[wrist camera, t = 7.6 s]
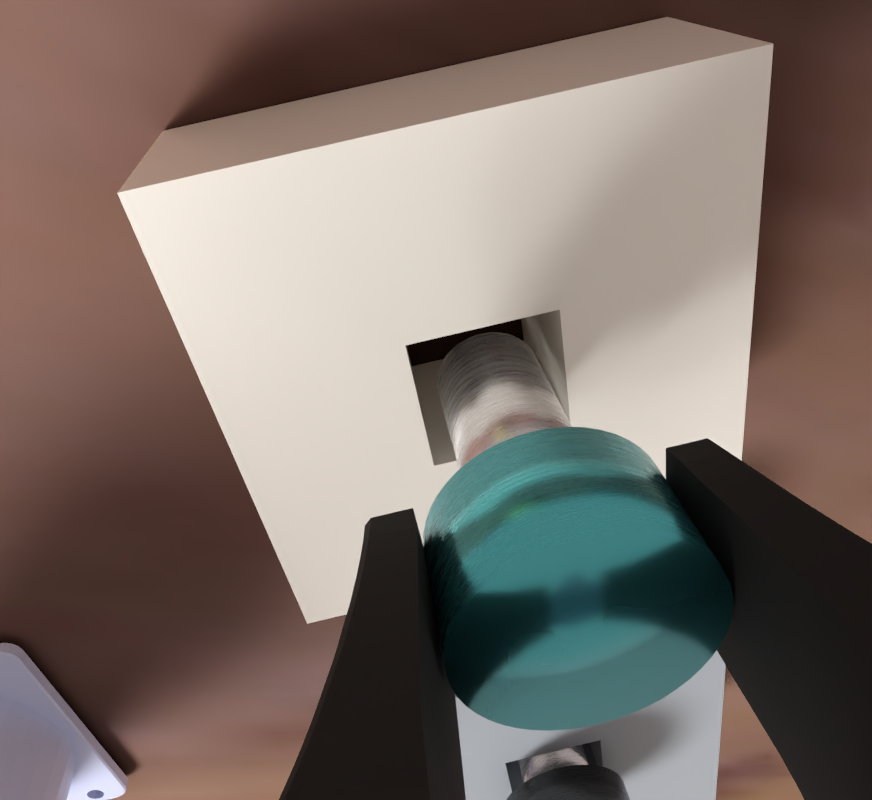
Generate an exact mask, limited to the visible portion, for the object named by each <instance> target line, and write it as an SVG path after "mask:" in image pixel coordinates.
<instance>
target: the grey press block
mask: <svg viewBox="0 0 872 800" xmlns="http://www.w3.org/2000/svg"><path fill="white" fill-rule="evenodd" d="M346 615H347V614H346ZM725 669H726V665H725V663H724V661H723V660H722V658H721V656H720V655H719V653H718V651H717V650H716V652H715V653H714V655H713V656H712V657H711V658H710V660H709V661H708V662H707V663H706V664H705V665H704V666H703V667H702V669H700V670H699V671H698V672H697V673H696V674H695V675H694V676H693V677H692V678H691V679H690V680H688V681H687V682H686V683H684V684H683V685H682V686H680V687H679V688H678V689H676V690H675V691H673V692H672V693H670V694H669V695H667V696H666V697H664V698H662V699H661V700H659V701H657V702H655V703H653V704H651V705H649V706H647V707H645V708H643V709H641V710H638V711H636V712H634V713H632V714H629V715H626V716H623V717H621V718H618V719H615V720H612V721H608V722H605V723H601V724H597V725H592V726H587V727H582V728H575V729H567V730H551V731H544V730H528V729H520V728H514V727H510V726H505V725H502V724H499V723H496V722H493V721H490V720H488V719H486V718H484V717H482V716H480V715H478V714H476V713H475V712H474V711H472V710H471V709H469V708H468V707H467V706H466V705H465V704H464V703H463V702H462V701H461V700H460V699H459V698H458V697H457V696H456V694H455V699H456V708H457V718H458V728H459V737H460V747H461V757H462V767H463V777H464V787H465V796H466V800H507V798H508V797H509V795H510V794H511V793H512V792H513V791H514V790H515V789H516V788H517V787H519V786H520V785H521V784H523V783H524V782H523V778H522V774H521V769H520V765H519V761H518V760H521V759H525V758H529V757H533V756H537V755H541V754H545V753H549V752H553V751H558V750H562V749H566V748H570V747H574V746H578V745H582V746H583V749H584V752H585V755H586V758H587V761H588V764H589V765H596V766H602V767H606V768H609V769H611V770H613V771H615V772H616V773H618V774H619V775H620V776H621V778H622V779H623V781H624V784H625V787H626V790H627V792H628V795H629V798H630V800H715V799H716V786H717V773H718V760H719V747H720V734H721V721H722V708H723V695H724V682H725Z"/></svg>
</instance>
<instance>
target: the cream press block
mask: <svg viewBox="0 0 872 800" xmlns="http://www.w3.org/2000/svg"><path fill="white" fill-rule="evenodd" d="M772 57H773V43H769V42H765V41H761V40H757V39H753V38H749V37H746V36H742V35H738V34H734V33H730V32H726V31H722V30H718V29H714V28H710V27H706V26H702V25H698V24H694V23H690V22H686V21H682V20H678V19H674V18H670V17H664V18H660V19H655V20H651V21H646V22H642V23H637V24H633V25H629V26H624V27H620V28H615V29H611V30H607V31H602V32H598V33H593V34H589V35H584V36H580V37H576V38H571V39H567V40H562V41H558V42H553V43H549V44H545V45H540V46H536V47H531V48H527V49H523V50H518V51H514V52H509V53H505V54H500V55H496V56H492V57H487V58H483V59H478V60H474V61H469V62H465V63H461V64H456V65H452V66H447V67H443V68H439V69H434V70H430V71H425V72H421V73H416V74H412V75H408V76H403V77H399V78H394V79H390V80H385V81H381V82H377V83H372V84H368V85H363V86H359V87H355V88H350V89H346V90H341V91H337V92H332V93H328V94H324V95H319V96H315V97H310V98H306V99H301V100H297V101H293V102H288V103H284V104H279V105H275V106H271V107H266V108H262V109H257V110H253V111H248V112H244V113H240V114H235V115H231V116H226V117H222V118H217V119H213V120H209V121H204V122H200V123H195V124H191V125H187V126H182V127H178V128H173V129H169V130H164V131H162V133H161V134H160V135H159V137H158V138H157V140H156V141H155V142H154V144H153V145H152V146H151V148H150V149H149V150H148V152H147V153H146V154H145V156H144V157H143V159H142V160H141V161H140V163H139V164H138V165H137V167H136V168H135V169H134V171H133V172H132V173H131V175H130V176H129V178H128V179H127V180H126V182H125V183H124V184H123V186H122V187H121V188H120V190H119V191H118V192H117V194H118V196H119V198H120V200H121V203H122V205H123V207H124V209H125V212H126V214H127V216H128V218H129V221H130V223H131V225H132V228H133V230H134V232H135V234H136V237H137V239H138V241H139V243H140V246H141V248H142V250H143V252H144V255H145V257H146V259H147V262H148V264H149V266H150V268H151V271H152V273H153V275H154V277H155V280H156V282H157V284H158V286H159V289H160V291H161V293H162V296H163V298H164V300H165V302H166V305H167V307H168V309H169V311H170V314H171V316H172V318H173V320H174V323H175V325H176V327H177V330H178V332H179V334H180V336H181V339H182V341H183V343H184V345H185V348H186V350H187V352H188V354H189V357H190V359H191V361H192V363H193V366H194V368H195V370H196V373H197V375H198V377H199V379H200V382H201V384H202V386H203V388H204V391H205V393H206V395H207V397H208V400H209V402H210V404H211V407H212V409H213V411H214V413H215V416H216V418H217V420H218V422H219V425H220V427H221V429H222V431H223V434H224V436H225V438H226V441H227V443H228V445H229V447H230V450H231V452H232V454H233V456H234V459H235V461H236V463H237V465H238V468H239V470H240V472H241V475H242V477H243V479H244V481H245V484H246V486H247V488H248V490H249V493H250V495H251V497H252V499H253V502H254V504H255V506H256V509H257V511H258V513H259V515H260V518H261V520H262V522H263V524H264V527H265V529H266V531H267V533H268V536H269V538H270V540H271V542H272V545H273V547H274V549H275V552H276V554H277V556H278V558H279V561H280V563H281V565H282V567H283V570H284V572H285V574H286V576H287V579H288V581H289V583H290V586H291V588H292V590H293V592H294V595H295V597H296V599H297V601H298V604H299V606H300V608H301V610H302V613H303V615H304V617H305V620H306V622H307V624H308V623H312V622H317V621H321V620H325V619H329V618H333V617H337V616H342V615H346V614H347V612H348V608H349V605H350V601H351V597H352V593H353V589H354V584H355V580H356V576H357V571H358V567H359V562H360V556H361V551H362V545H363V538H364V528H365V525H366V523H367V522H368V521H369V520H370V518H372V517H377V516H381V515H385V514H389V513H394V512H398V511H402V510H406V509H411V508H413V510H414V514H415V517H416V521H417V525H418V528H419V532H420V536H421V539H422V543H423V533H424V527H425V522H426V519H427V516H428V513H429V510H430V508H431V506H432V504H433V502H434V500H435V498H436V496H437V495H438V494H439V492H440V491H441V489H442V488H443V487H444V485H445V484H446V483H447V482H448V481H449V479H450V478H451V477H452V476H453V475H454V474H455V473H456V472H457V471H458V470H459V468H458V464H457V460H456V457H455V453H454V449H453V445H452V442H451V438H450V434H449V431H448V427H447V423H446V419H445V416H444V412H443V408H442V405H441V401H440V397H439V393H438V390H437V375H438V371H439V368H440V365H441V363H442V361H443V360H444V359H441V360H437V361H433V362H429V363H424V364H420V365H416V366H412V365H411V361H410V357H409V353H408V349H407V345H410V344H414V343H418V342H423V341H427V340H431V339H435V338H440V337H444V336H448V335H453V334H457V333H461V332H466V331H470V330H474V329H478V328H483V327H487V326H491V325H496V324H500V323H504V322H509V321H513V320H517V319H521V322H522V330H523V338H524V340H523V341H524V342H525V343H526V344H527V345H528V346H529V347H530V348H531V349H532V351H533V353H534V354H535V356H536V358H537V360H538V362H539V364H540V366H541V368H542V370H543V372H544V373H545V375H546V377H547V379H548V381H549V383H550V385H551V387H552V389H553V391H554V393H555V395H556V397H557V398H558V400H559V402H560V404H561V406H562V408H563V410H564V412H565V414H566V416H567V418H568V420H569V422H570V423H571V425H572V427H586V428H593V429H599V430H603V431H607V432H610V433H614V434H617V435H619V436H621V437H623V438H625V439H628V440H630V441H631V442H633V443H634V444H636V445H637V446H639V447H640V448H641V449H642V450H644V451H645V452H646V453H647V454H648V455H649V456H650V457H651V459H652V460H653V461H654V462H655V464H656V465H657V467H658V468H659V470H660V471H661V473H662V474H663V476H664V477H665V479H666V448H668V447H673V446H677V445H681V444H685V443H689V442H694V441H698V440H702V439H706V438H708V439H710V440H711V441H713V442H714V443H716V444H717V445H719V446H720V447H722V448H723V449H725V450H726V451H728V452H729V453H731V454H732V455H734V456H735V457H737V458H738V459H740V460H741V461H742V448H743V435H744V422H745V409H746V396H747V383H748V370H749V357H750V344H751V331H752V317H753V304H754V291H755V278H756V265H757V252H758V239H759V226H760V213H761V200H762V187H763V174H764V161H765V148H766V135H767V122H768V109H769V96H770V83H771V70H772Z"/></svg>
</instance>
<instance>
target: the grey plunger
mask: <svg viewBox="0 0 872 800" xmlns="http://www.w3.org/2000/svg"><path fill="white" fill-rule="evenodd" d="M518 761H519V765H520V769H521V774H522V778H523V782H524V783H523V784H521V785H520V786H519V787H517V788H516V789H515V790H514V791H513V792H512V793H511V794H510V795H509V797H508V798H507V800H630V798H629V795H628V792H627V790H626V787H625V784H624V781H623V779H622V778H621V776H620V775H619V774H618V773H616V772H615V771H613V770H611V769H609V768H606V767H602V766H596V765H589V764H588V761H587V758H586V755H585V752H584V749H583V746H582V745H578V746H574V747H570V748H566V749H562V750H558V751H553V752H549V753H545V754H541V755H537V756H533V757H529V758H525V759H521V760H518Z"/></svg>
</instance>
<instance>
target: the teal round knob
mask: <svg viewBox="0 0 872 800" xmlns="http://www.w3.org/2000/svg"><path fill="white" fill-rule="evenodd" d="M437 390H438V393H439V397H440V401H441V405H442V408H443V412H444V416H445V419H446V423H447V427H448V431H449V434H450V438H451V442H452V445H453V449H454V453H455V457H456V460H457V464H458V468H459V470H458V471H457V472H456V473H455V474H454V475H453V476H452V477H451V478H450V479H449V481H448V482H447V483H446V484H445V485H444V487H443V488H442V489H441V491H440V492H439V494H438V495H437V496H436V498H435V500H434V502H433V504H432V506H431V508H430V510H429V513H428V516H427V519H426V522H425V527H424V533H423V547H424V552H425V558H426V564H427V569H428V575H429V580H430V586H431V592H432V597H433V603H434V609H435V614H436V620H437V626H438V631H439V637H440V642H441V648H442V654H443V659H444V665H445V670H446V676H447V679H448V681H449V684H450V686H451V688H452V690H453V691H454V693H455V694H456V696H457V697H458V698H459V699H460V700H461V701H462V702H463V703H464V704H465V705H466V706H467V707H468V708H469V709H471V710H472V711H474V712H475V713H476V714H478V715H480V716H482V717H484V718H486V719H488V720H490V721H493V722H496V723H499V724H502V725H505V726H510V727H514V728H520V729H528V730H544V731H551V730H567V729H575V728H582V727H587V726H592V725H597V724H601V723H605V722H608V721H612V720H615V719H618V718H621V717H623V716H626V715H629V714H632V713H634V712H636V711H638V710H641V709H643V708H645V707H647V706H649V705H651V704H653V703H655V702H657V701H659V700H661V699H662V698H664V697H666V696H667V695H669V694H670V693H672V692H673V691H675V690H676V689H678V688H679V687H680V686H682V685H683V684H684V683H686V682H687V681H688V680H690V679H691V678H692V677H693V676H694V675H695V674H696V673H697V672H698V671H699V670H700V669H702V667H703V666H704V665H705V664H706V663H707V662H708V661H709V660H710V658H711V657H712V656H713V655H714V653H715V652H716V650H717V649H718V648H719V646H720V645H721V643H722V641H723V639H724V637H725V635H726V633H727V631H728V628H729V625H730V622H731V619H732V613H733V592H732V588H731V584H730V582H729V579H728V577H727V575H726V573H725V571H724V570H723V568H722V567H721V565H720V563H719V562H718V560H717V559H716V557H715V556H714V554H713V553H712V551H711V549H710V548H709V546H708V545H707V543H706V542H705V540H704V538H703V537H702V535H701V534H700V532H699V531H698V529H697V528H696V526H695V524H694V523H693V521H692V520H691V518H690V517H689V515H688V513H687V512H686V510H685V509H684V507H683V506H682V504H681V502H680V501H679V499H678V498H677V496H676V495H675V493H674V492H673V490H672V488H671V487H670V485H669V484H668V482H667V481H666V479H665V477H664V476H663V474H662V473H661V471H660V470H659V468H658V467H657V465H656V464H655V462H654V461H653V460H652V459H651V457H650V456H649V455H648V454H647V453H646V452H645V451H644V450H642V449H641V448H640V447H639V446H637V445H636V444H634V443H633V442H631V441H630V440H628V439H625V438H623V437H621V436H619V435H617V434H614V433H610V432H607V431H603V430H599V429H593V428H586V427H572V425H571V423H570V422H569V420H568V418H567V416H566V414H565V412H564V410H563V408H562V406H561V404H560V402H559V400H558V398H557V397H556V395H555V393H554V391H553V389H552V387H551V385H550V383H549V381H548V379H547V377H546V375H545V373H544V372H543V370H542V368H541V366H540V364H539V362H538V360H537V358H536V356H535V354H534V353H533V351H532V349H531V348H530V347H529V346H528V345H527V344H526V343H525V342H524V341H522V340H521V339H519V338H517V337H515V336H513V335H510V334H506V333H500V332H488V333H482V334H478V335H474V336H472V337H469V338H467V339H465V340H464V341H462V342H460V343H459V344H457V345H456V346H455V347H454V348H453V349H452V350H451V351H450V352H449V353H448V354H447V355H446V357H445V358H444V360H443V361H442V363H441V365H440V368H439V371H438V375H437Z"/></svg>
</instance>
